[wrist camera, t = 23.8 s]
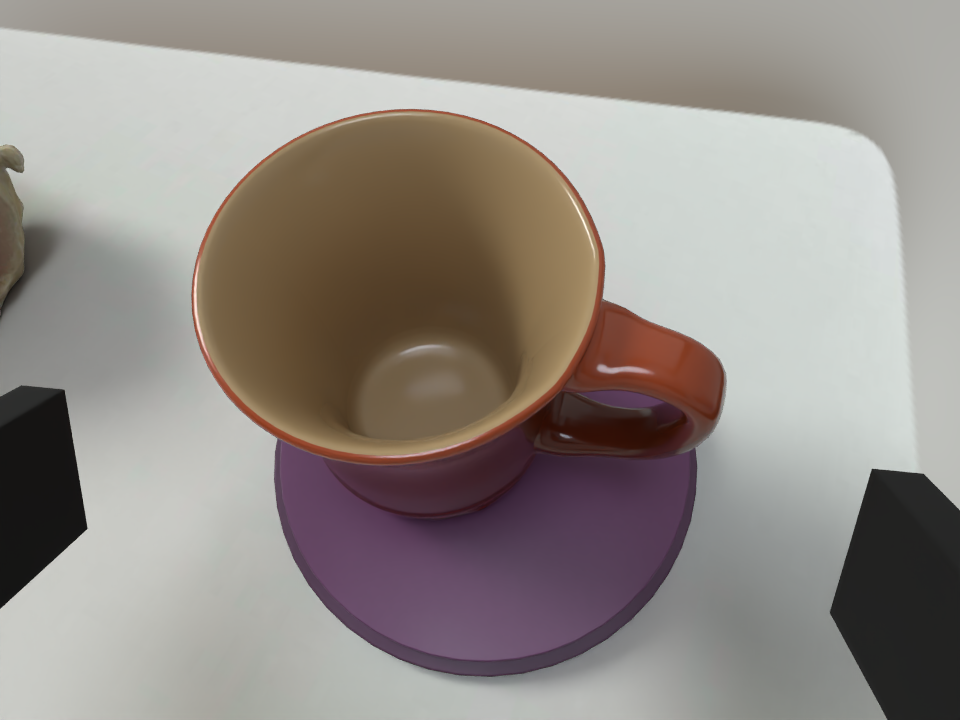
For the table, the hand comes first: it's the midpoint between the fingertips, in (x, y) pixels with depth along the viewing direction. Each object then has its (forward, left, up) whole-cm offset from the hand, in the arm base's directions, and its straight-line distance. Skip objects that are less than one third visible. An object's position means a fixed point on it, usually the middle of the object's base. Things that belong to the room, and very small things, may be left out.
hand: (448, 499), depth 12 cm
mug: (+5, -1, -12) cm, 13 cm away
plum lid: (+5, -1, -13) cm, 13 cm away
